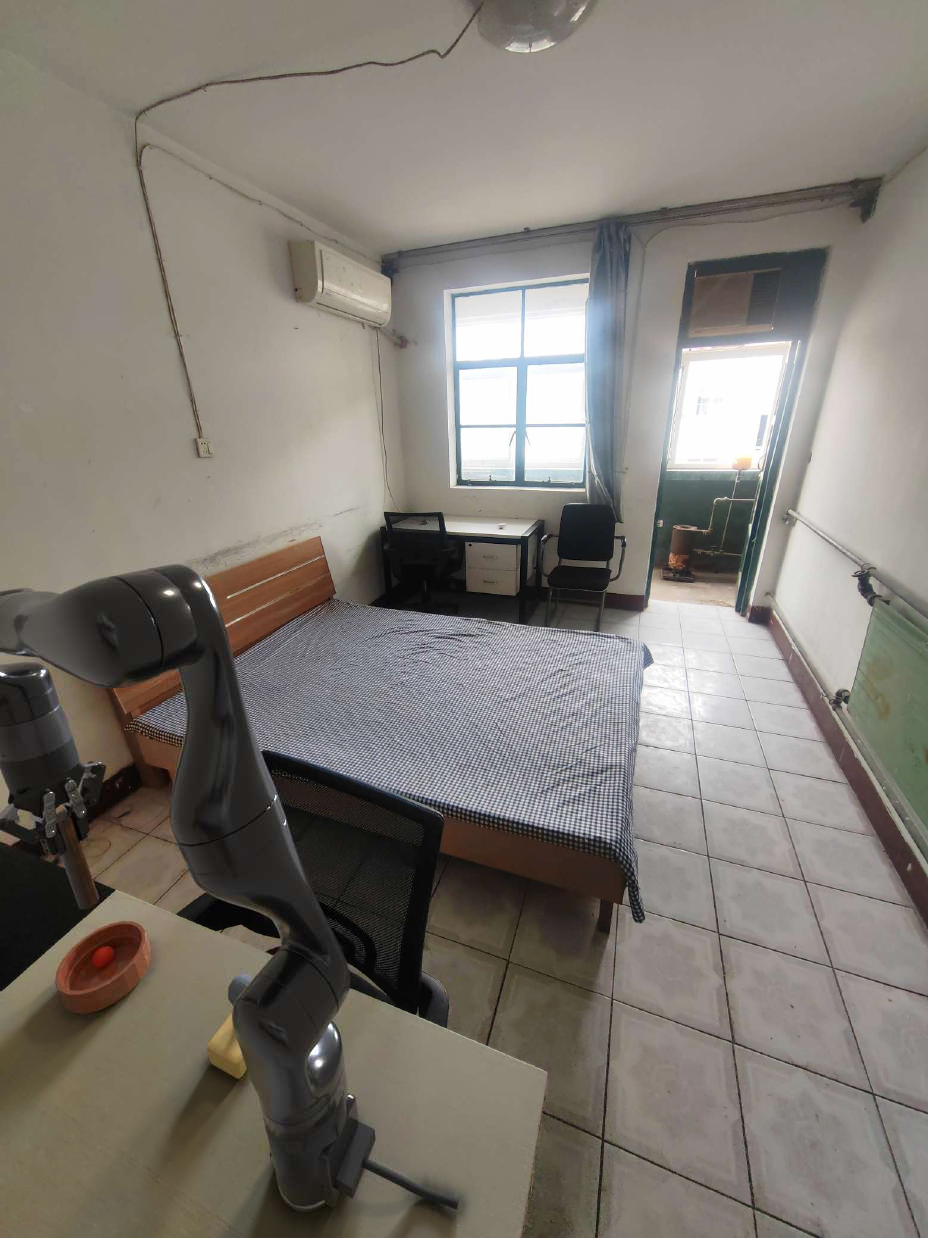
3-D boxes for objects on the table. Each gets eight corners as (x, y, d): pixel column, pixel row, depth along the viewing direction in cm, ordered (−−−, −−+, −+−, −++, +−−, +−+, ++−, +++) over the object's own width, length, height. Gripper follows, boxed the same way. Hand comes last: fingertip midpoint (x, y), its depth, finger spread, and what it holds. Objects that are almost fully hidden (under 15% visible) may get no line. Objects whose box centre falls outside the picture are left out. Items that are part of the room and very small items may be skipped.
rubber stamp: (240, 1081, 66) (226, 1025, 62) (209, 1063, 68) (194, 1008, 64) (288, 1007, 74) (279, 954, 70) (259, 993, 76) (249, 941, 72)
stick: (102, 898, 71) (74, 813, 66) (86, 912, 69) (56, 825, 63) (91, 893, 72) (63, 809, 66) (75, 907, 69) (44, 821, 64)
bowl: (168, 954, 82) (162, 933, 81) (98, 1028, 72) (89, 1007, 70) (119, 932, 86) (112, 912, 84) (46, 1000, 75) (36, 978, 74)
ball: (120, 957, 81) (116, 945, 80) (102, 975, 78) (98, 962, 77) (107, 952, 82) (103, 939, 81) (90, 968, 79) (85, 956, 78)
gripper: (-14, 781, 53) (31, 894, 59) (108, 720, 66) (135, 818, 72) (-54, 767, 56) (-7, 877, 61) (71, 710, 68) (101, 806, 74)
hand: (69, 845), depth 67 cm, fingers closed on stick, 2 cm apart
